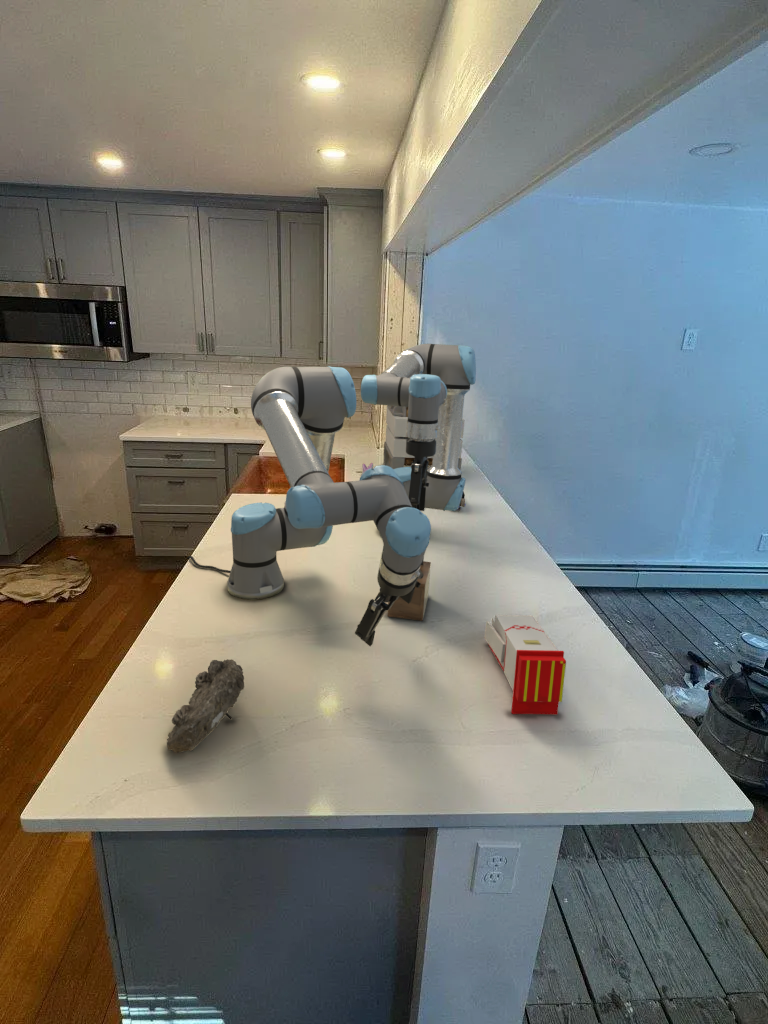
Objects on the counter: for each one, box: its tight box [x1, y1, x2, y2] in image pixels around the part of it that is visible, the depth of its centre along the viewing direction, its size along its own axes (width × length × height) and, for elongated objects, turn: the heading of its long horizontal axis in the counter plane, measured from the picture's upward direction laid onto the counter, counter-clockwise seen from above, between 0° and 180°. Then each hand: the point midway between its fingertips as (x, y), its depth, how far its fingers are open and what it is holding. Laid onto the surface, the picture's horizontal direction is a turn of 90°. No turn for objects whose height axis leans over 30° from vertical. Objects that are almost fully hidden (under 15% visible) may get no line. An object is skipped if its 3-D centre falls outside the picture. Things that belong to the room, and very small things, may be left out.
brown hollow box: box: [387, 569, 431, 622], centre depth 150 cm, size 13×9×10 cm
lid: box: [417, 556, 432, 588], centre depth 147 cm, size 14×9×9 cm, turn 170°
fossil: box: [166, 658, 245, 754], centre depth 106 cm, size 22×10×15 cm
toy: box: [484, 614, 567, 716], centre depth 124 cm, size 12×13×30 cm
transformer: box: [382, 405, 465, 472], centre depth 268 cm, size 34×33×41 cm
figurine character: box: [457, 490, 466, 511], centre depth 229 cm, size 7×8×15 cm
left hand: (386, 619), depth 124 cm, fingers open, 13 cm apart
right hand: (416, 518), depth 148 cm, fingers open, 13 cm apart
